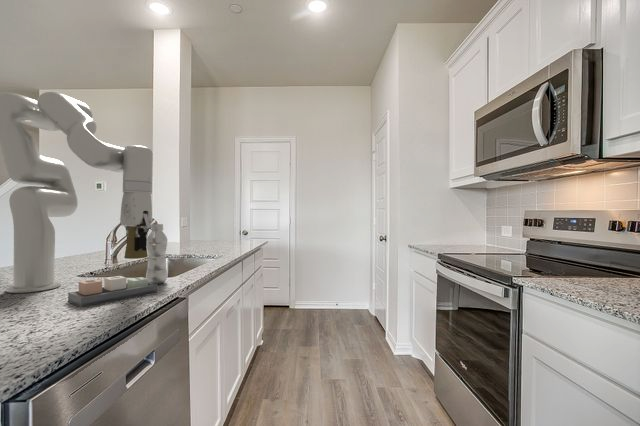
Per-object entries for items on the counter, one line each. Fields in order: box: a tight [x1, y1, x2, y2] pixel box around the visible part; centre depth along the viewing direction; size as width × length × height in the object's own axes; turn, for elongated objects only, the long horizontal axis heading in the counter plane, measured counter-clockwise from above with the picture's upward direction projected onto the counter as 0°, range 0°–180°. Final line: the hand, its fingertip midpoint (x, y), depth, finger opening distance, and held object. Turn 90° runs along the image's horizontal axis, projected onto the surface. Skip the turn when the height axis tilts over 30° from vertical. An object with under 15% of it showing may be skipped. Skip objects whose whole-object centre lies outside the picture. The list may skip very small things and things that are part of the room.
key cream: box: [103, 275, 127, 291], centre depth 89 cm, size 4×4×3 cm
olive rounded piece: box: [124, 224, 148, 260], centre depth 94 cm, size 6×6×11 cm
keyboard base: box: [67, 282, 158, 309], centre depth 89 cm, size 9×19×2 cm, turn 145°
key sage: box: [126, 276, 148, 289], centre depth 94 cm, size 4×4×3 cm
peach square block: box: [78, 278, 103, 295], centre depth 84 cm, size 4×4×3 cm
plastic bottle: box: [145, 223, 168, 285], centre depth 106 cm, size 6×7×20 cm
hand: (136, 249), depth 94 cm, fingers closed on olive rounded piece, 4 cm apart
